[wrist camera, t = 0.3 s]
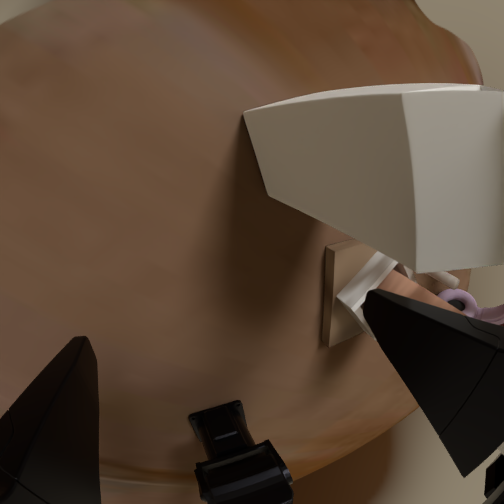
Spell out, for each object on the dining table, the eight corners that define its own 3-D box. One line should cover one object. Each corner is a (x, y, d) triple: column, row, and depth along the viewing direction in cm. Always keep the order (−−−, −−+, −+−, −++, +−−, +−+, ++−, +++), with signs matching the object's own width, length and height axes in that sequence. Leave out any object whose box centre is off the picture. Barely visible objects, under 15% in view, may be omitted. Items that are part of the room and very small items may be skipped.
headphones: (429, 202, 32) (564, 261, 15) (463, 184, 34) (575, 229, 17) (419, 317, 41) (509, 385, 24) (452, 291, 43) (534, 344, 26)
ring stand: (393, 307, 36) (443, 344, 28) (321, 340, 33) (371, 392, 25) (405, 223, 31) (470, 253, 23) (325, 246, 28) (396, 291, 20)
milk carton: (267, 196, 24) (491, 320, 7) (240, 112, 20) (513, 100, 4) (335, 168, 25) (544, 239, 9) (317, 92, 22) (550, 95, 5)
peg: (368, 311, 32) (442, 371, 21) (354, 292, 30) (438, 356, 19) (392, 284, 32) (469, 336, 22) (381, 262, 30) (468, 316, 19)
